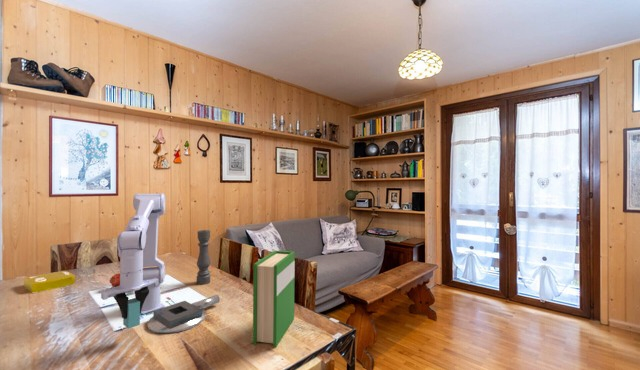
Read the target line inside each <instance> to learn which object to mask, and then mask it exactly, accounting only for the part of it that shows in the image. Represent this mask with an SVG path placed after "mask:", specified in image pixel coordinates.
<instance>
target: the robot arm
mask: <svg viewBox="0 0 640 370" xmlns="http://www.w3.org/2000/svg"><path fill="white" fill-rule="evenodd" d="M132 198H133V199H132V207H133V209H134V210H135V214H134V215H133V216H132V217H130V218H129V220H128V222H127V224H126V227H125V228H124V231H122V232H121V233H119V234H118V235H117V240H116V247H117V251H118V257H119V259H120V260H119V261H120V262H119V263H120V266H119V267H120V269H119V273H120V286H117V287H113V288H111V287H110V288H111V289H110V288H109V289H106V290H102V291H100V293H101V295H100V296H101V297H100V298H101V299H102V300H103V301H105V300H108V299H110V298H114V300H115V301H116V303H117V304H116V305H118V307H119V310H120V313H121V318H122V319H123V318H124V319H126V318H127V305H128V300H130V299H129V296H127V294H128V293H132V292H134V298H135V299H137V300H138V301H140V315H144V314H148V313H151V312H153V311H155V310H158V309H161V308H164V307H166V306H165V305H164V304H163V303H161V284H163V283H164V281H165V279H166V268H165V267H166V266H165V262H164V261H163V260H161V259H160V258H158V242H159V241H158V239H159V220H160V217H161V216H163V215H165V212H166V195H165V193H138V192H137V193H135V194H134V195H133V197H132Z"/></svg>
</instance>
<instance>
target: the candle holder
mask: <svg viewBox="0 0 640 370" xmlns="http://www.w3.org/2000/svg"><path fill="white" fill-rule="evenodd" d="M210 238H211V230H209V229H202V230H201V229H200V230H198V231H197V240H198V242H199V243H197V245H198V247H199V251H198V252H199V253H198V256H197V257H198V258H197V260H196V261H197V262H196V267H197V268H198V272H197V273H196V274H197V275H196V285H199V286H200V285H201V286H204V285H208V284H210V283H211V274H210V273H211V271H210V270H209V268H210V265H211V259H210V255H209V246H210V242H209V241H210Z"/></svg>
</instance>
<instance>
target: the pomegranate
mask: <svg viewBox="0 0 640 370" xmlns="http://www.w3.org/2000/svg"><path fill="white" fill-rule="evenodd" d="M109 283H110V284H111V287H110V288H109V289H111V288H114V287H117V286H120V272H119V273H116V274H114V275H112V276H111V277H110V279H109Z"/></svg>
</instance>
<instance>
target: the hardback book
mask: <svg viewBox="0 0 640 370" xmlns="http://www.w3.org/2000/svg"><path fill="white" fill-rule="evenodd" d="M295 253H296V251H285V250H274V251H272V252H271V253H269V254H267V255H266V256H264V257H262V258H261V259H259V260H258V261H256V262H255V263H253V268H252V269H253V274H252V275H253V284H252V286H253V287H252V289H253V294H252V299H253V300H252V345H255V346H256V345H257V344H258V343H259V342H261V343H267V344H273V345H272V347H273V348H277V347H278V346H279V344H280V342H281V341H282V339H283V338H284V336H285V335H286V333H287V331H289V328H290V326H291V325H292V323H293V322H294V320H295V274H296V273H295V270H296V269H295V267H296V266H295V265H296V264H295V263H296V261H295V256H296V255H295Z"/></svg>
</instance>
